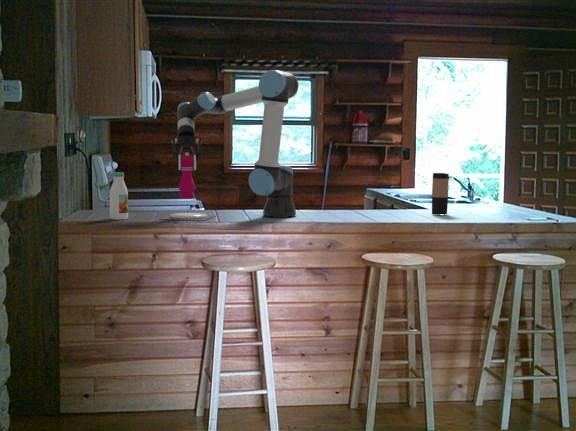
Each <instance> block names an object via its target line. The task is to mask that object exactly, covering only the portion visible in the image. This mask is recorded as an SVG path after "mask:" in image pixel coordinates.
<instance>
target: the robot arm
mask: <svg viewBox="0 0 576 431" xmlns="http://www.w3.org/2000/svg"><path fill="white" fill-rule="evenodd" d="M298 90H299V81H298V79H297V77H296V75H294V74H292V73H291V72H286V71H282V70H278V69H270V70H267V71H265V72H264V73H262V75H261V76H260V78H259V82H258V86H253V87H249V88H246V89H242V90H239V91H236V92H235V91H234V92H231V93H228V94H227V93H226V94H223V95H220V96H217V97H215V96H214V95H213V94H212V93H211V92H208V91H205V92H203V93H201V94H199V95H198V96H197V97H196V98H194V99H193V100H191V101H190V102H189V101H184V102H181V103H179V104H178V106H177V112H176V115H177V137H176V138H175V137H171V139H170V140H171V157H172V158H175V163H176V164H178V171H182V170H181V169H182V168H181V167H182V165H181V153H182V151H183V148H184V147H189V149H190V150H191V151H192V154H193V159H194V164H193V171H197V164H199V158H200V159H201V158H203V149H202V140H203V139H202V138H200V137H199V138H197V137H196V134H195V132H196V131H195V120H196V119H197V118H199V117H201V116H202V115H203V114H213V115H214V114H215V115H223V114H225V113H227V112H228V111H233V110H238V109H241V108H245V107H249V106H253V105H257V104H260V103H263V105H264V107H263V117H262V124H261V125H262V126H261V135H260V145H259V151H258V152H259V153H258V160H257V161H256V162H254V167H253V170H252V172H251V173H249V177H248V185H249V187H250V189H251V191H252V192H253V193H255V194H256V195H258V196H266V201H265V205H264V207H263V211H262V216H263V215H266V216H275V217H274V218H288V217H287V216H295V215H296V216H297V211H296V207H295V203H294V201H293V186H294V185H293V181H294V180H293V179H294V174H293V172H294V171H293V167H291V166H289V165H282V164H280V163H279V156H280V147H281V146H280V145H281V139H282V138H281V137H282V129H283V122H284V121H283V119H284V111H285V107H286V106H287V105H288V104H289V99H292V98H294V96H296V95H297V93H298ZM177 143H178V144H179V146H178V148H177V150H176V144H177ZM195 143H196V145H197V148H196V146H195ZM197 150H198V151H197ZM266 216H265V217H266ZM296 216H295V217H296Z"/></svg>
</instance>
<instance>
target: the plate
mask: <svg viewBox="0 0 576 431" xmlns="http://www.w3.org/2000/svg"><path fill="white" fill-rule="evenodd" d="M207 215H208V214H206V213H199V212H180V213H179V212H177V213H176V212H175V213H171V214H170V215H169V216H170V217H171V218H176V219H201V218H207Z"/></svg>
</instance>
